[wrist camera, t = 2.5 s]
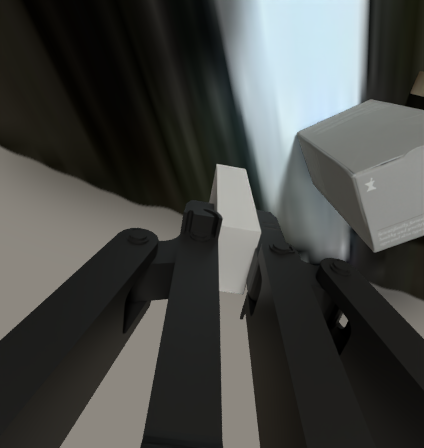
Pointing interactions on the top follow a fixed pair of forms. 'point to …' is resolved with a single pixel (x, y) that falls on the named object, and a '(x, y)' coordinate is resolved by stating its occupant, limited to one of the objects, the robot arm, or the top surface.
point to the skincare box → (371, 169)
